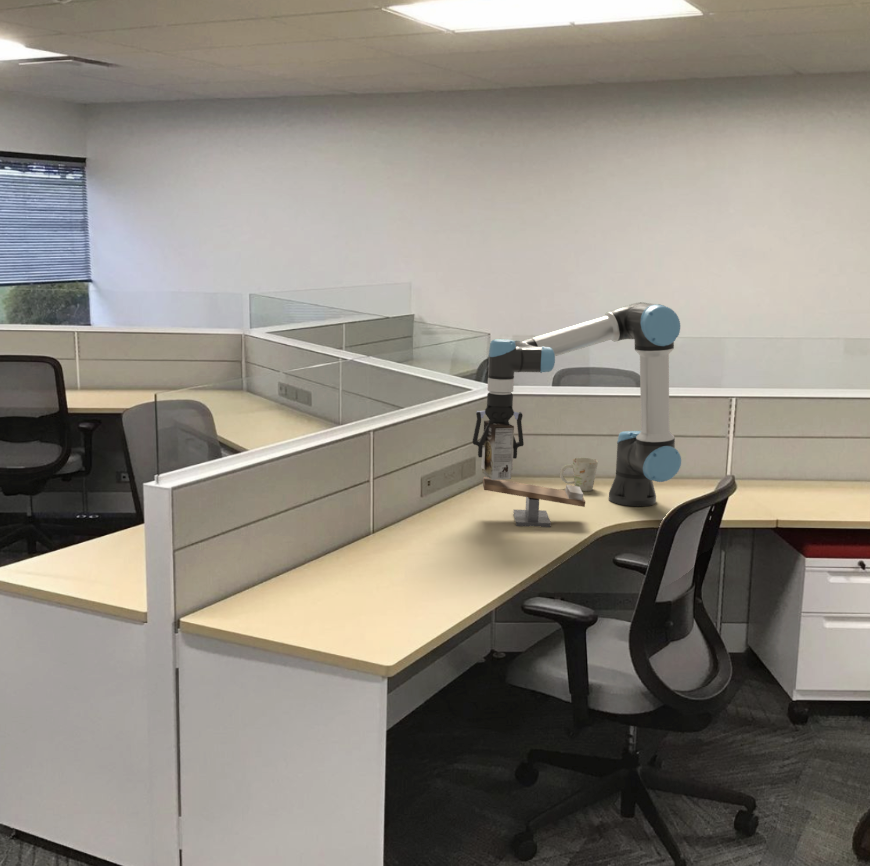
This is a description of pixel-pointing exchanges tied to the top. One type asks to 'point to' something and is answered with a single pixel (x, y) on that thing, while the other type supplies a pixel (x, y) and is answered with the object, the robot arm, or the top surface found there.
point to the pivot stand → (531, 515)
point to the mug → (582, 473)
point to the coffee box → (498, 451)
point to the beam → (536, 491)
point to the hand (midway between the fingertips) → (496, 468)
